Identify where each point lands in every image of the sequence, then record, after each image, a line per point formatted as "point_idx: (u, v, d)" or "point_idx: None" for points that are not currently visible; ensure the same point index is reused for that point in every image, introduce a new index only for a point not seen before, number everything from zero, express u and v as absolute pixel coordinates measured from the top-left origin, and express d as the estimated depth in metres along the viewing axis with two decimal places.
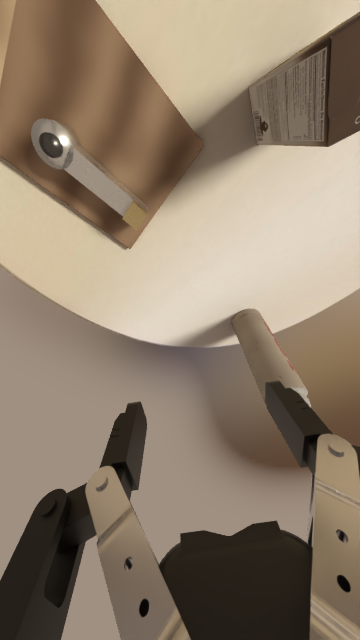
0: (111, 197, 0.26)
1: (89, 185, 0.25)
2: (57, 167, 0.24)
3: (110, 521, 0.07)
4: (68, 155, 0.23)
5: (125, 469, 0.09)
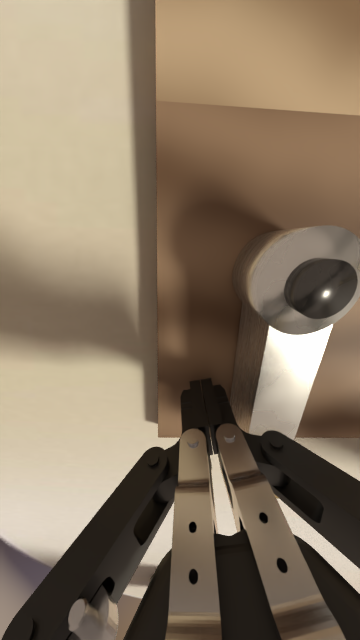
0: (269, 422, 0.11)
1: (267, 382, 0.09)
2: (264, 312, 0.08)
3: (190, 478, 0.07)
4: (307, 324, 0.08)
5: (206, 433, 0.09)
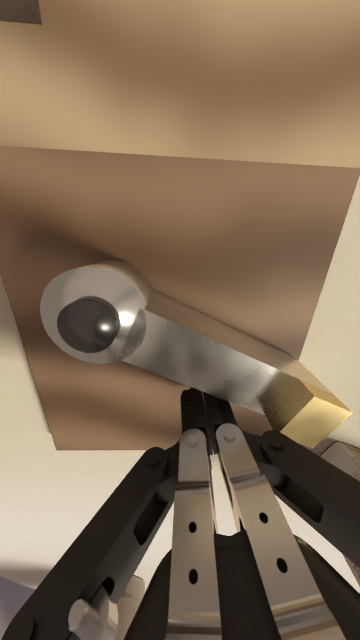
0: (239, 386, 0.10)
1: (184, 376, 0.09)
2: (106, 361, 0.09)
3: (190, 478, 0.07)
4: (133, 330, 0.08)
5: (206, 433, 0.09)
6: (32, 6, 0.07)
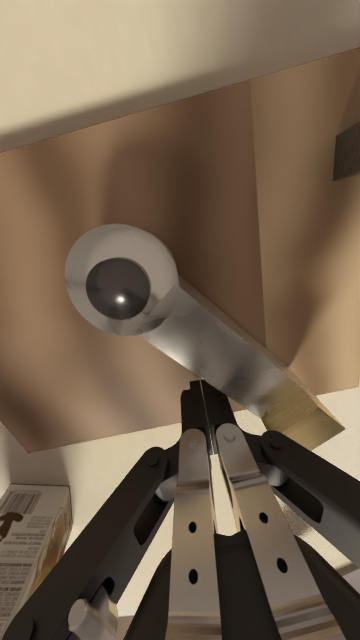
0: (246, 386, 0.10)
1: (197, 365, 0.09)
2: (121, 332, 0.08)
3: (190, 478, 0.07)
4: (161, 306, 0.08)
5: (206, 433, 0.09)
6: None
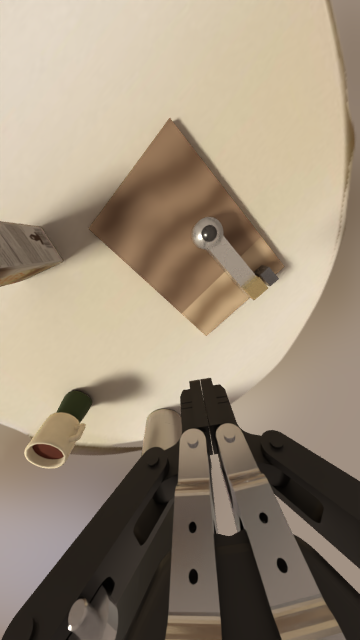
0: (238, 272, 0.30)
1: (224, 262, 0.29)
2: (204, 248, 0.28)
3: (190, 478, 0.07)
4: (217, 240, 0.28)
5: (206, 433, 0.09)
6: (255, 273, 0.33)
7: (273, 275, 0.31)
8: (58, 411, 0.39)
